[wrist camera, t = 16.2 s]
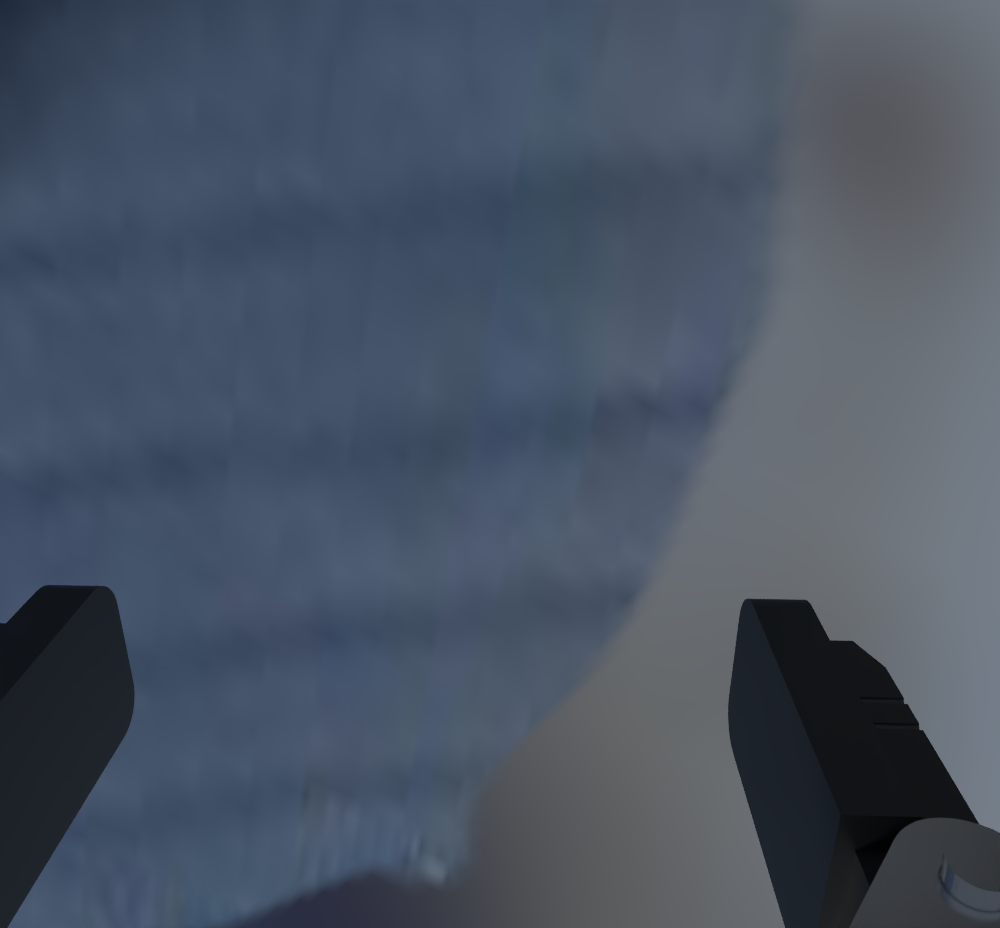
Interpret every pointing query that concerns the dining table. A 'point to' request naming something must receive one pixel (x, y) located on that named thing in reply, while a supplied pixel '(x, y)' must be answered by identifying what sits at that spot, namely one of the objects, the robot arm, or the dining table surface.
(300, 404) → the dining table surface
